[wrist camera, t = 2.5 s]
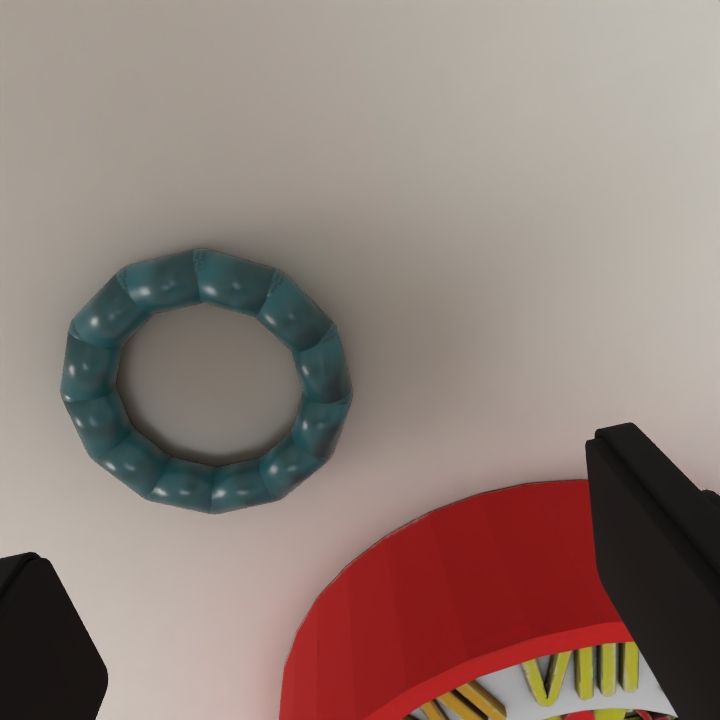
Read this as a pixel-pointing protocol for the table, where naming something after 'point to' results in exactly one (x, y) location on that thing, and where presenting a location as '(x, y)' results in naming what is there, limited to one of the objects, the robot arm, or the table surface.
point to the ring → (226, 290)
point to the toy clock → (474, 622)
